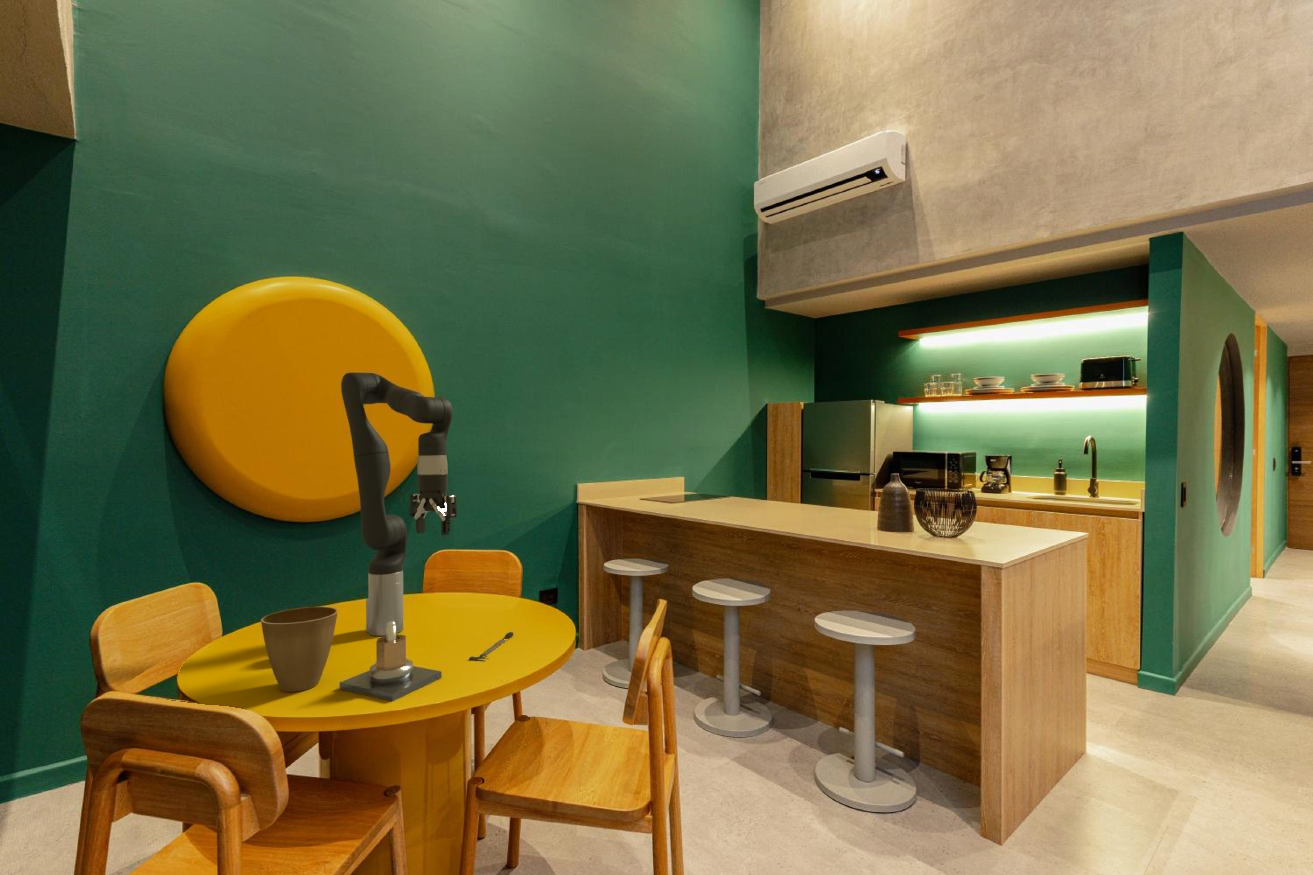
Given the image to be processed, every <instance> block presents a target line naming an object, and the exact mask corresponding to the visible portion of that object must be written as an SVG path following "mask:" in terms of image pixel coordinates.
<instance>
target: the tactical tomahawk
mask: <svg viewBox="0 0 1313 875" xmlns="http://www.w3.org/2000/svg"><path fill="white" fill-rule="evenodd" d="M513 636H514V632H512V631H509V632H507V633H506V634H505V635H504V637H503V638H502V639H499V640H498V641H496V643H494V644H492V645H491V646H490V647H489V648H487V649H486V650H485V651H483V652H482V653H481V654H480V655H479V656H470V657H469V661H472V662H473V661H475V662H486V660H489V659H490V658H487V657H488V655H489V654H490V653H492V652H493V651H495V650H496V649H497V648H499V647H501V646H502V645H503V644H505V643H506V642H507V641H506V640H504V639H509V638H510V639H511V637H513ZM510 639H509V640H510ZM505 641H506V642H505ZM502 643H503V644H502ZM501 644H502V645H501ZM498 646H499V647H498Z"/></svg>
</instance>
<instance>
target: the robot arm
mask: <svg viewBox="0 0 1313 875" xmlns="http://www.w3.org/2000/svg"><path fill="white" fill-rule="evenodd" d="M341 378H342V379H341V381H340V391H341V397H342V401H343V406H344V408H345V414H346V417H347V421H348V425H349V426H348V428H349V432H350V436H351V437H350V438H351V445H352V451H353V461H354V468H355V472H356V473H355V474H356V478H357V487H358V488H357V489H358V493H359V504H360V523H361V524H360V525H361V526H360V528H361V530H360V531H361V537H362V539H363V543H364V544H365V545H366V547H367V548H369V549H370V550H372V551H377V552H376V555H375V556H374V557H373V559H371V561H370V562H369V563H368V567H367V571H368V572H367V573H368V583H367V584H368V585H367V586H368V598H366V600H365V608H366V609H365V615H366V616H365V618H366V619H365V623H366V624H365V626H366V628H365V630H366V631H365V632H366V633H368V634H369V635H370V636H381V637H384V636H386V625H387V623H388V622H389V621H394V622H395V623H396V634H399V633H400V632H402V631H403V630H404V564H405V561H406V558H407V545H408V544H407V542H408V541H407V540H408V533H407V532H408V529H407V525H406V523H405V521H404V519H403V518H402V517H400V516H399V515H396V514H387V513H386V507H385V494H386V490H387V486H388V483H389V480H390V475H391V460H390V459H391V458H390V455H389V454H390V453H389V447H388V445H387V443H386V442H385V440H384V439H383V438H382V436H381V435H380V434H379V433H378V431H377V430H376V429H375V428H374V427H373V426H372V424H371V422H370V421H369V419H368V416H367V412H366V410H365V406H364V405H374V404H387V405H388V407H389V408H390V409H391V410H392V411H394V412H396V413H398V414H401V415H404V416H407V417H408V418H409V419H410V420H412V421H413V422H415V423H419V424H426V425H427V424H430V425H431V424H432V426H431V429H430V430H429V431H428V432H423V433H422V434H420V435H419V436H418V441H417V443H418V444H417V445H418V446H417V450H418V451H417V454H418V457H417V463H416V464H417V466H416V467H417V469H416V471H417V472H416V473H417V474H416V475H417V476H416V477H417V478H416V479H417V490H418V491H419V493H414V494H413V493H411V494H410V496H409V517H413V518H414V519H415V530H416V534H419V535H420V534H424V533H425V532H426V519H425V517H426V515H427V514H428V513H429V512H435V513H436V515H438V516H439V518H440V519H441V521H440V527H441V530H440V531H441V532H440V535H441V536H447V535H448V536H449V535H450V533H451V520H453V519H455V518H457V517H458V509H457V506H458V505H457V496H456V495H455V494H450V495H447V493H446V492H447V490H448V488H449V487H448V486H449V483H448V482H449V481H448V480H449V478H448V476H449V473H448V469H449V468H448V459H447V457H448V456H447V439H448V435H449V432H450V428H451V424H452V421H453V420H452V419H453V418H454V417H453V416H454V415H453V414H454V410H453V406H452V403H451V402H450V400H448V399H447V398H445V397H437V396H435V397H434V396H425V395H424V394H422V393H420V392H418V391H416V390H413V389H408V388H405V387H403V386H399V385H397V384H395V383H393V382H392V381H390V380H388V379H386V378H385V377H384V376H382V375H381V374H378V373H376V372H375V373H374V372H354V371H353V372H352V371H351V372H346V373H345V374H343V376H342V377H341Z"/></svg>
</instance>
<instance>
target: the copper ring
mask: <svg viewBox="0 0 1313 875" xmlns="http://www.w3.org/2000/svg"><path fill="white" fill-rule="evenodd" d="M375 644H376V647H375V649H376V652H375V653H376V663H377V669H378V670H383V671H387V670H395V669H399V668H401V667H404V666H406V659H407V635H403V634H399V633H396V640H395V641H388V642H387V641H386V635H383V636H381V637H379V638H377V639H376V643H375ZM376 663H375V664H376Z"/></svg>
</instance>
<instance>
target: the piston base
mask: <svg viewBox="0 0 1313 875" xmlns="http://www.w3.org/2000/svg"><path fill="white" fill-rule="evenodd" d="M396 635H397V633H396V623H395V622H394V621H389V622H388V623H387V625H386V635H385V636H386V641H387V642H388V641H395V640H396ZM442 673H443V672H442V671H441V670H436V669H430V668H427V667H426V668H424V667H420V666H415V665H414V662H413V660H411V659H407V658H406V666H404V667H401V668H399V669H395V670H387V671H383V670H378V669H377V663H373V664H372V665H371V666H370V667H369V670H366V671H363V672H362V673H360V674H356V675H355V676H352V677H349V678H347V679H345V680H342V681H340V682H339V685H338V686H339V690H341V691H346V692H350V693H355V694H359V695H363V696H368V697H372V698H377V699H381V700H384V701H385V700H387V701H390V702H394V701H396V700H398V699H401V698H403V697H404V696H407V695H408V694H411V693H413V692H416V691H417V690H419V689H421V688H424V687H425V686H428V685H429V684H432V683H434V682H436V681H439V680H441V679H442V677H443V676H442Z"/></svg>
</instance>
